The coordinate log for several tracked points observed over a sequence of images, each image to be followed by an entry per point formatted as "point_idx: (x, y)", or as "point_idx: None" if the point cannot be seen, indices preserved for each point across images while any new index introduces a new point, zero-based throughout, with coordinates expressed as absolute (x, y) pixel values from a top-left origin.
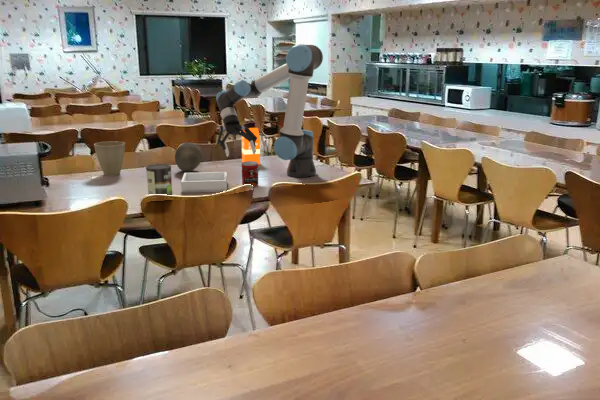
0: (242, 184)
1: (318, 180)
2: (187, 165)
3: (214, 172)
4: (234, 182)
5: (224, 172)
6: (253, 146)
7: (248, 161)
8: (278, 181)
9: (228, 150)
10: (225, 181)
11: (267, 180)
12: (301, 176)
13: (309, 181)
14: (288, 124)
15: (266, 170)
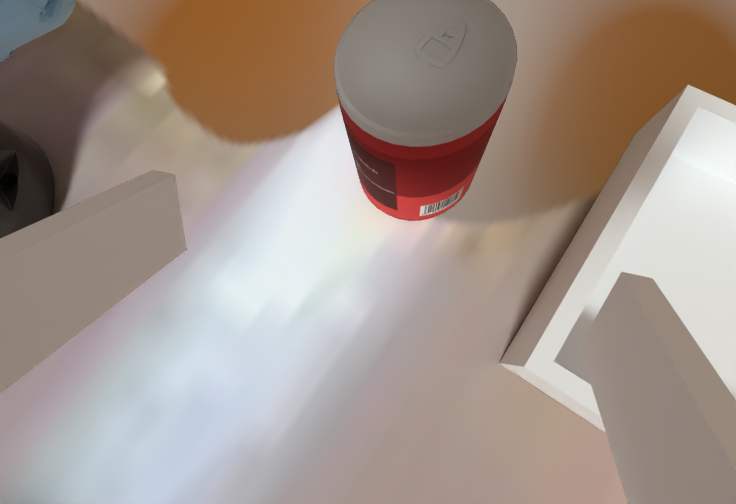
0: (472, 179)
1: (34, 41)
2: None
3: None
4: (457, 312)
5: (553, 361)
6: (95, 210)
7: (389, 123)
8: (207, 151)
9: (646, 308)
10: (689, 91)
11: (239, 214)
12: (30, 140)
13: (84, 50)
14: None
15: (7, 497)
